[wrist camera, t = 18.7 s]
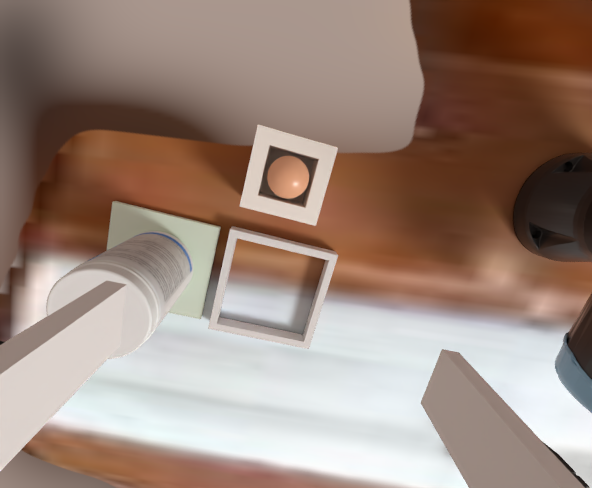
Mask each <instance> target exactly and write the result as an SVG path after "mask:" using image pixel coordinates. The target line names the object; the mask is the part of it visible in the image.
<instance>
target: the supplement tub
mask: <svg viewBox="0 0 592 488" xmlns="http://www.w3.org/2000/svg"><path fill="white" fill-rule="evenodd" d="M192 275H193V261H192V257H191V254H190V252H189V250H188V249H187V247H186V246H185V245H184V244H183V243H182V242H181V241H180V240H179V239H178V238H176V237H174V236H173V235H170V234H168V233H165V232H160V231H149V232H144V233H141V234H138V235H136V236H134V237H132V238H130V239H128V240H126V241H124V242H123V243H121V244H119V245H117V246H115V247H113V248H111V249H109V250H107V251H105V252H103V253H101V254H100V255H98V256H96V257H94V258H92V259H90V260H88V261H86V262H84V263H83V264H81V265H79V266H77V267H76V268H74V269H73V270H71V271H70V272H69V273H67V274H66V275H65V276H63V277H62V278H61V279H59V280H58V281H57V282H56V284H55V285H54V286H53V288H52V289H51V291H50V293H49V296H48V299H47V306H46V308H47V316H49V315H51V314H52V313H54V312H56V311H57V310H59V309H60V308H62V307H64V306H65V305H67V304H69V303H70V302H72V301H74V300H75V299H77V298H79V297H80V296H82V295H83V294H85V293H87V292H88V291H90V290H92V289H93V288H95V287H97V286H98V285H100V284H101V283H103V282H105V281H106V280H107V281H112V282H117V283H122V284H126V285H127V287H126V295H125V304H124V313H123V322H122V331H121V340H120V346H119V347H118V349H117V350H116V351H115V352H114V353H113V354H112V355H111V356H110V357H109V358H108V359H114V358H119V357H123V356H125V355H128V354H130V353H132V352H134V351H135V350H137V349H138V348H139V347H140V346H141V345H142V344H143V343H144V342H145V341H146V340H147V339H148V338H149V337H150V336H151V335H152V334H153V332H154V331H155V330H156V328H157V327H158V326H159V324H160V323H161V321H162V320H163V319H164V317H165V316H166V315H167V313H168V312H169V310H170V309H171V308H172V306H173V305H174V304H175V302H176V301H177V299H178V298H179V297H180V295H181V294H182V292H183V291H184V290H185V288H186V287H187V285H188V284H189V282H190V280H191V278H192Z"/></svg>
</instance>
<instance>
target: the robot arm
mask: <svg viewBox="0 0 592 488" xmlns="http://www.w3.org/2000/svg"><path fill="white" fill-rule="evenodd" d="M514 227H515V231H516V234H517V236H518V238H519V240H520V242H521V243H522V244H523V246H524V247H525V248H527V249H528V250H529V251H531V252H532V253H534V254H536V255H539V256H542V257H545V258H548V259H551V260H555V261H562V262H592V153H572V154H566V155H562V156H559V157H556V158H554V159H552V160H550V161H548V162H546V163H545V164H543V165H542V166H541V167H539V168H538V169H537V170H536V171H535V172H534V173H533V174H532V175H531V176H530V177H529V178H528V180H527V181H526V182H525V184H524V185H523V187H522V189H521V191H520V193H519V195H518V197H517V200H516V204H515V208H514ZM126 287H127V285H126V284H122V283H117V282H112V281H107V280H106V281H105V282H103V283H101V284H100V285H98V286H97V287H95V288H93V289H92V290H90V291H88V292H87V293H85V294H83V295H82V296H80V297H79V298H77V299H75V300H74V301H72V302H70V303H69V304H67V305H65V306H64V307H62V308H60V309H59V310H57V311H56V312H54V313H52V314H51V315H49V316H47V317H46V318H44V319H42V320H41V321H39V322H37V323H36V324H34V325H33V326H31V327H29V328H28V329H26V330H24V331H23V332H21V333H19V334H18V335H16V336H14V337H13V338H11V339H10V340H8V341H6V342H2V341H0V471H1V470H2V469H3V468H4V467H5V466H6V465H7V464H8V463H9V462H10V460H12V459H13V457H14V456H15V455H16V454H17V453H18V452H19V451H20V450H21V449H22V448H23V447H24V446H25V445H26V444H27V443H28V442H29V441H30V440H31V439H32V438H33V437H34V435H35V434H36V433H37V432H38V431H39V430H40V429H41V428H42V427H43V426H44V425H45V424H46V423H47V422H48V421H49V420H50V419H51V418H52V417H53V416H54V415H55V413H56V412H57V411H58V410H59V409H60V408H61V407H62V406H63V405H64V404H65V403H66V402H67V401H68V400H69V399H70V398H71V397H72V396H73V395H74V394H75V393H76V391H77V390H78V389H79V388H80V387H81V386H82V385H83V384H84V383H85V382H86V381H87V380H88V379H89V378H90V377H91V376H92V375H93V374H94V373H95V372H96V371H97V369H98V368H99V367H100V366H101V365H102V364H103V363H104V362H105V361H106V360H107V359H108V358H109V357H110V356H111V355H112V354H113V353H114V352H115V351H116V350H117V349H118V347H119V346H120V340H121V331H122V322H123V313H124V304H125V295H126ZM563 342H564V343H563V346H562V348H561V350H560V352H559V354H558V356H557V358H556V360H555V369H556V372H557V374H558V377H559V379H560V381H561V382H562V384H563V385H564V386H565V388H566V389H567V390H568V391H569V392H570V393H571V394H572V396H573V397H574V398H575V399H576V400H577V401H579V402H580V403H581V404H582V405H583V406H584V407H585V408H586V409H588V410H589V411H590V412H591V413H592V294H591V295H590V297H589V299H588V300H587V302H586V304H585V306H584V307H583V309H582V311H581V312H580V314H579V316H578V317H577V319H576V321H575V323H574V324H573V326H572V328H571V329H570V331H569V332H568V333H566V334H565V336H564V339H563ZM421 404H422V406H423V408H424V409H425V411H426V413H427V415H428V417H429V418H430V420H431V422H432V424H433V425H434V427H435V429H436V431H437V432H438V434H439V436H440V438H441V439H442V441H443V443H444V445H445V446H446V448H447V450H448V452H449V453H450V455H451V457H452V459H453V460H454V462H455V464H456V466H457V467H458V469H459V471H460V473H461V474H462V476H463V478H464V480H465V481H466V483H467V485H468V487H469V488H590V487H589V486H588V485H587V484H586V483H585V482H584V481H583V480H582V479H581V478H580V477H579V476H576V474H575V473H576V472H575V471H574V470H573V469H572V468H571V467H570V466H569V465H568V464H567V463H566V462H565V461H564V460H563V459H562V458H561V457H560V456H559V455H558V454H557V453H556V452H555V451H553V450H552V449H551V448H550V447H548V446H547V445H546V444H545V443H543V442H542V441H541V440H540V439H539V438H538V437H537V436H536V435H535V434H534V433H533V431H532V430H531V429H530V428H529V427H528V426H527V425H526V424H525V423H524V422H523V421H522V420H521V419H520V418H519V417H518V415H517V414H516V413H515V412H514V411H513V410H512V409H511V408H510V407H509V406H508V405H507V404H506V403H505V402H504V400H503V399H502V398H501V397H500V396H499V395H498V394H497V393H496V392H495V391H494V390H493V389H492V388H491V387H490V385H489V384H488V383H487V382H486V381H485V380H484V379H483V378H482V377H481V376H480V375H479V374H478V373H477V372H476V370H475V369H474V368H473V367H472V366H471V365H470V364H469V363H468V362H467V361H466V360H465V359H464V358H463V357H462V356H461V354H460V353H458V352H453V351H448V350H443V349H442V351H441V353H440V356H439V358H438V361H437V363H436V366H435V368H434V371H433V373H432V376H431V378H430V381H429V383H428V386H427V388H426V391H425V393H424V396H423V398H422V401H421Z"/></svg>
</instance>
